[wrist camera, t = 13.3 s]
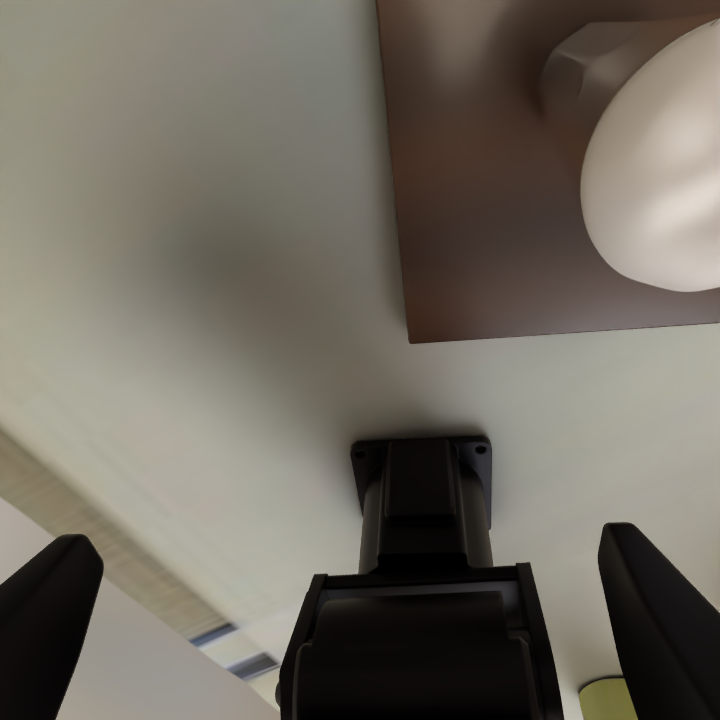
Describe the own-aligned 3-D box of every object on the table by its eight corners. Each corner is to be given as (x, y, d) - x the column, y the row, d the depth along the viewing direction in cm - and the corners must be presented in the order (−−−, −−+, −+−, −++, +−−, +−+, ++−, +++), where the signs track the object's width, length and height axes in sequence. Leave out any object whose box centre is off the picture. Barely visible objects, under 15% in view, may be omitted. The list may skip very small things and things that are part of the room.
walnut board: (728, 308, 20) (741, 322, 20) (409, 331, 22) (408, 345, 21) (971, -523, 10) (1020, -565, 9) (342, -365, 12) (336, -389, 11)
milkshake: (676, -80, 13) (1084, -154, 5) (682, 137, 16) (953, 305, 8) (492, -5, 15) (594, 27, 6) (526, 185, 17) (629, 374, 9)
